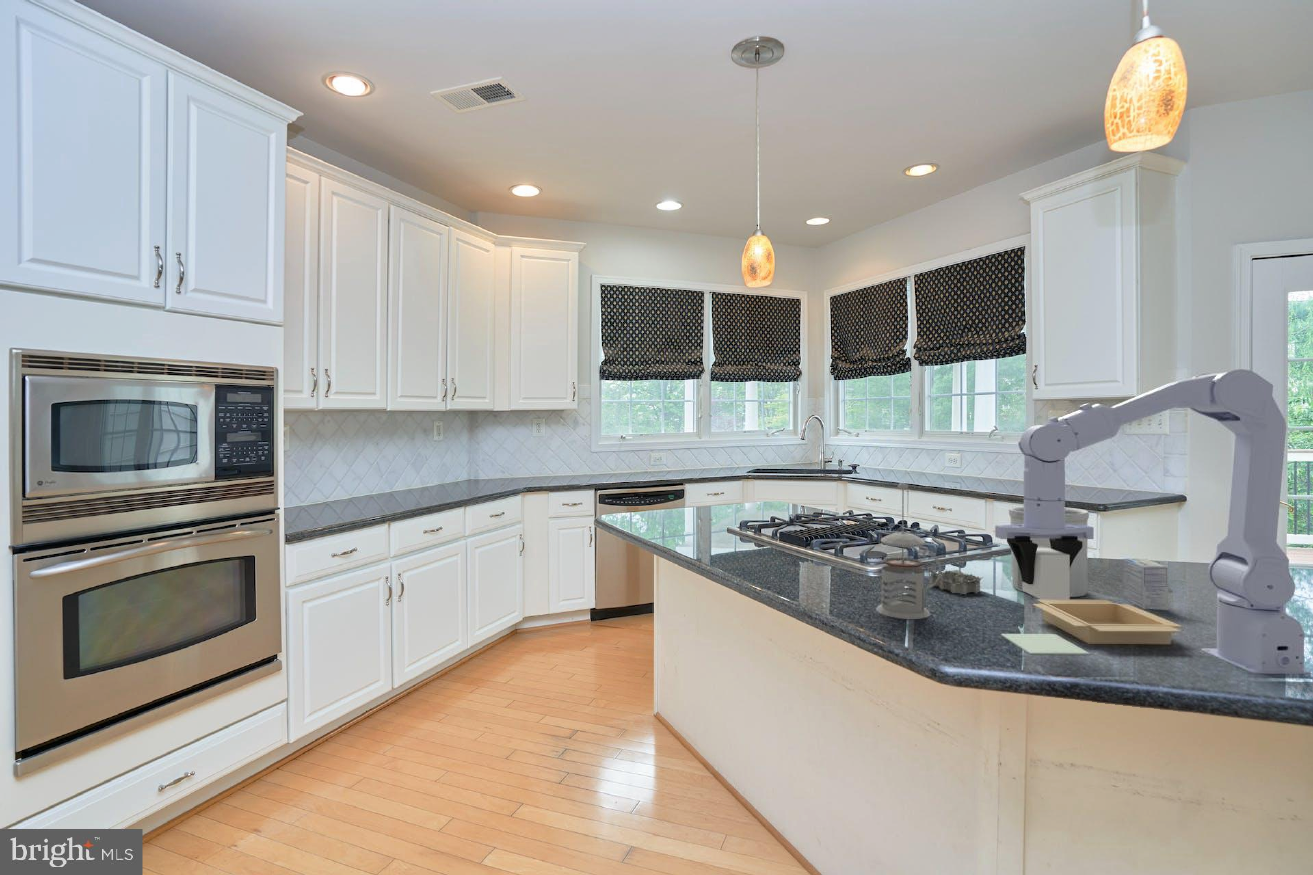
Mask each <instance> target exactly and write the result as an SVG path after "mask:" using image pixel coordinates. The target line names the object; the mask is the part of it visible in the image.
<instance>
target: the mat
mask: <svg viewBox="0 0 1313 875" xmlns="http://www.w3.org/2000/svg"><path fill="white" fill-rule="evenodd" d="M1000 636H1002V637H1003V638H1005V639H1006V640H1008V641H1009V642H1011V643H1012V644H1013V645H1015V646H1016V647H1018V648H1020V649H1021V650H1022V651H1024V652H1026V653H1027V654H1029V655H1045V656H1046V655H1049V656H1050V655H1052V656H1053V655H1055V656H1056V655H1061V656H1062V655H1067V656H1069V655H1070V656H1071V655H1072V656H1073V655H1074V656H1076V655H1079V656H1083V655H1084V656H1085V655H1087V656H1088V655H1090V652H1088V651H1086V650H1085V649H1083V648H1081V647H1079V646H1077V645H1076V644H1074V643H1072V642H1070V641H1068V640H1066V639H1065V638H1063V637H1061V636H1059V635H1057V634H1056V633H1000Z"/></svg>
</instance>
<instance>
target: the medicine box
mask: <svg viewBox="0 0 1313 875" xmlns="http://www.w3.org/2000/svg"><path fill="white" fill-rule="evenodd" d="M1121 570H1122V576H1121V577H1122V582H1121V583H1122V600H1125V601H1127V602H1130V603H1131V604H1134V605H1136V606H1137V607H1139V608H1141V609H1142V610H1143V609H1144V610H1158V611H1159V610H1161V611H1162V610H1163V611H1169V568H1168V567H1167V566H1166V565H1163V564H1161V563H1158V562H1155V561H1152V560H1149V559H1146V558H1136V557H1135V558H1131V557H1130V558H1123V559H1122V569H1121Z"/></svg>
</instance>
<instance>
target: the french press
mask: <svg viewBox="0 0 1313 875" xmlns="http://www.w3.org/2000/svg"><path fill="white" fill-rule="evenodd" d="M897 489H899V490H901V491H902V493H901V494H902V497H901V498H902V500H901V502H902V503H901V504H902V506H901V508H902V510H901V511H902V514H901V515H902V516H901V517H902V518H901V520H902V524H901V525H902V528H901V529H902V530H901V531H900V532H893V533H891V534H888V535H885V536H884V537H881V538H880V542H881V543H882V544H883V545H886V546H893V547H897V548H898V547H899V548H902V549H901V552H902V553H901V557H888V558H884V559H883V560H882V561H883V563H884V564H885V565H883V566H882V567H881V604H879V605H878V606H877V607H876V610H875V611H877V612H878V613H879V614H881V615H883V616H887V617H892V618H895V619H896V618H897V619H902V620H903V619H905V620H906V619H907V620H918V619H919V620H920V619H924V618H925V619H926V618H928V617H929V616H931V613H930V611H929V610H928V609H927V608H926V590H929V589H931V588H933V587H935V586H934V585H935V584H936V583H937V582H938V580H939V578H940V574H941V572H942V566H941V564H942V563H941V562H940V560H939V557H938V556H937V555H936V554H935V553H934V551H931V550H930V549H927V548H926V549H924V550H923V551H922V558H926V555H927V554H928V555H930V556H931V557H932V558H933V559H934V561H935V562H936V565H937V569H938V570H937V571H938V572H937V574H938V578H937V580H936V582H934V583H933V584H931V585H930V584H928V585H927V586H925V569H923V568H922V567H921V566H923V564H924V563H923V561H921V560H919V559H916V558H909V557H905V558H904V548H918V547H922V546H925V545H926V541H925V540H924V539H923V538H921V537H920V536H918V535H915V534H913V533H910V532H909V533H908V532H906V531H904V522H905V520H904V506H905V504H904V502H905V501H904V495H905V494H904V490H908V489H909V485H908V484H907V483H906V482H899V484H897ZM926 553H927V554H926ZM920 567H921V568H920ZM906 572H908V573H906ZM909 572H913V573H909ZM902 580H905V581H903V582H901V583H897V582H900V581H902ZM892 583H895V584H893V585H888V584H892ZM902 587H904V588H902ZM899 588H901V589H899ZM895 589H898V590H895ZM888 590H894V591H888ZM898 594H899V595H900V594H902V595H900V596H897V597H893V596H895V595H898ZM888 597H889V598H888ZM890 597H891V598H890Z"/></svg>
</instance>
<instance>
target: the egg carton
mask: <svg viewBox="0 0 1313 875" xmlns="http://www.w3.org/2000/svg"><path fill="white" fill-rule="evenodd" d="M926 570H928V572H930V575H929V581H928V582H929V585H931V584H933V583H934V582H936V580H937V578H938V572H936V571H935V570H934V569H932V568H930V567H926ZM983 578H984V576H983V577H980V576H976V575H973V574H972V573H970V574H968V573H964V572H962V571H961V570H960V569H953V570H945V571H941V574H940V578H939V580H938V582H937V583H936V584H935V585H934V586H933V587H938V588H939V589H940V590H943V589H948V590H947V591H950V590H951V591H950V593H951V592H952V594H954V593H960V594H959V595H962V594H965V595H968V594H967V593H970V592H975V593H974V594H979V593H978V592H981V580H983ZM953 582H954V583H953Z"/></svg>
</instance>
